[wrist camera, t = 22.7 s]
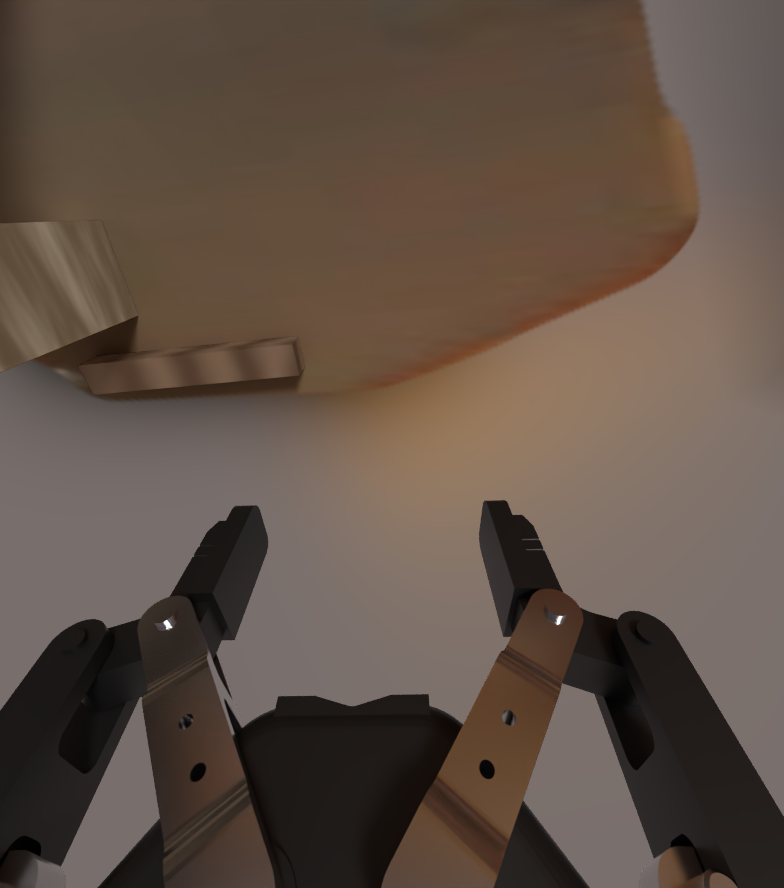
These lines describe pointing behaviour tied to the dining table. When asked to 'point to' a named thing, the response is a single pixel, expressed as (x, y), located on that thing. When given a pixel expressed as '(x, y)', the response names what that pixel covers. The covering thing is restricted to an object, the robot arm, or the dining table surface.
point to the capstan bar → (194, 365)
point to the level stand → (56, 287)
